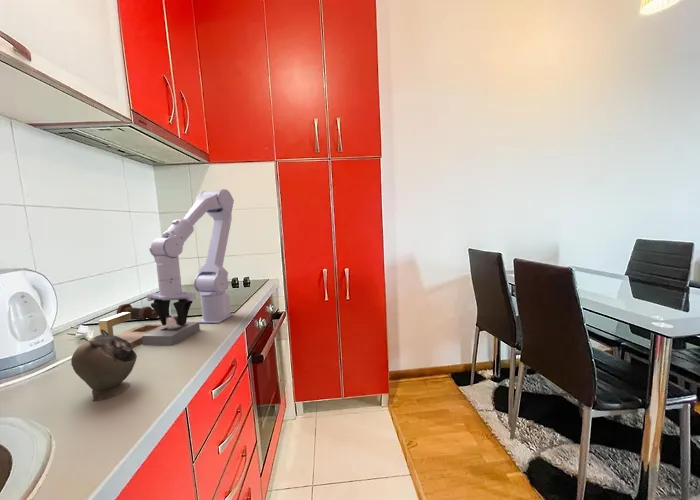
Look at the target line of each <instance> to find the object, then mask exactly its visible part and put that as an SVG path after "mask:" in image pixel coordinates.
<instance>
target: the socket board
mask: <svg viewBox="0 0 700 500" xmlns="http://www.w3.org/2000/svg"><path fill="white" fill-rule="evenodd" d="M163 326H165V325H162V324H152V323H151V324H140V325H137V326H135V327H133V328H131V329H128V330H124V331H123V332H119V333H118V334H115V335H114V336H117V337H120V338H121V339H124V340H126V341H128V342H129V343H130V344H131V346H132V348H135V347H136V346H138V345H141V344H143V338H142V336H143V335H145V334H147V333H150V332H152V331H154V330H156V329H158V328H161V327H163Z"/></svg>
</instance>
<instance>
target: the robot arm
mask: <svg viewBox="0 0 700 500" xmlns="http://www.w3.org/2000/svg"><path fill="white" fill-rule="evenodd" d="M234 202H235V200H234V198H233V196H232V194H231V192H230V191H229V190H228V189H225V188H223V189H216V190H208V191H207V190H203V191H201V192H199V194H198V195H197V196H196V200H195V202H194V203H193V205H192V206H191V207H190V209H189V210H188V212H187V213H186V214H185V215H184V217H183V218H177V219H174V220H172V222H171V225H170V227H168V229H167V230H166V231H163V233H162V235H161V237H157V238H155V239H154V240H153V241H152V243H151V245H150V247H149V252H150V254H151V256H153V258H154V262H155V263H156V275H157V280H158V281H157V282H158V290H159V291H158V292H151V293H147V294H146V298H147V299H146V300H147V302H151V303H150V307H151V308H152V309H154V310H155V311H156V313H157V314H158V318H159V320H160V322H161V325H166V316H168V315H170V305H171V301H175V302H174V303H173V307H174V309H175V311H176V314H177V315H178V322H179V325H180V326H182V325H184V324H186V322H188V321H187V319H188V315H189V311H190V308H191V305H192V303H193V301H196V300H197V294H196V292H198V296H200V306H201V315H202V318H201V319H198V320H197V321H196V322H199V324H219V323H221V322H223V321H225V320H226V319H228V318H230V317H232V316H233V315H234V313H233V312H232V311H231V299H230V298H231V297H230V295H229V293H228V292H226V290H228V286H229V279H228V278H229V272H228V270H226V269H225V268H224V267H223V266H224V261H225V255H226V252H227V251H226V250H227V246H228V241H229V235H230V231H231V230H230V229H231V223H232V218H233V217H232V215H233V214H232V212H233V207H234V204H235V203H234ZM205 213H206V214H207V215H208V216H209V217H210V218H212V219H213V220H214V221H213V226H212V229H211V236H210V240H209V244H208V245H209V246H208V250H207V254H206V255H207V256H206V260H205V264H204V265H203V266H201V267H200V268H199V269H198V272H197V275H196V276H195V277H194V280H193V287H194V290H195V291H196V292H188V291H183V288H182V287H183V286H182V276H181V268H180V260H179V256H180V255H181V254H182V252H183V249H184V245H185V244H184V243H186V241H187V240H188V239H189V237H190V236H191V235H192V234H193V232H194V230H195V228H194V225H196V223H197V222H198V221H199V220H200V219H201V218H202V217H203V216H204V215H205ZM152 301H153V302H152Z"/></svg>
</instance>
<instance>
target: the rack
mask: <svg viewBox="0 0 700 500" xmlns="http://www.w3.org/2000/svg"><path fill="white" fill-rule="evenodd" d="M199 331H201V326H200V323H199V322H197V321H186V324H184V325H182V328H181V329H179V330H177V331H167V326H166V325H165V326H163V327H161V328H158V329H156V330H154V331H152V332H150V333H147V334H145V335H143V336H142V338H143V343H142V345H144V346H145V345H149V346H150V345H151V346H173V345H175V344H178V343H179V342H181V341H183V340H185V339H186V338H189V336H192V335H194V334H196V333H197V332H199Z"/></svg>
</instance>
